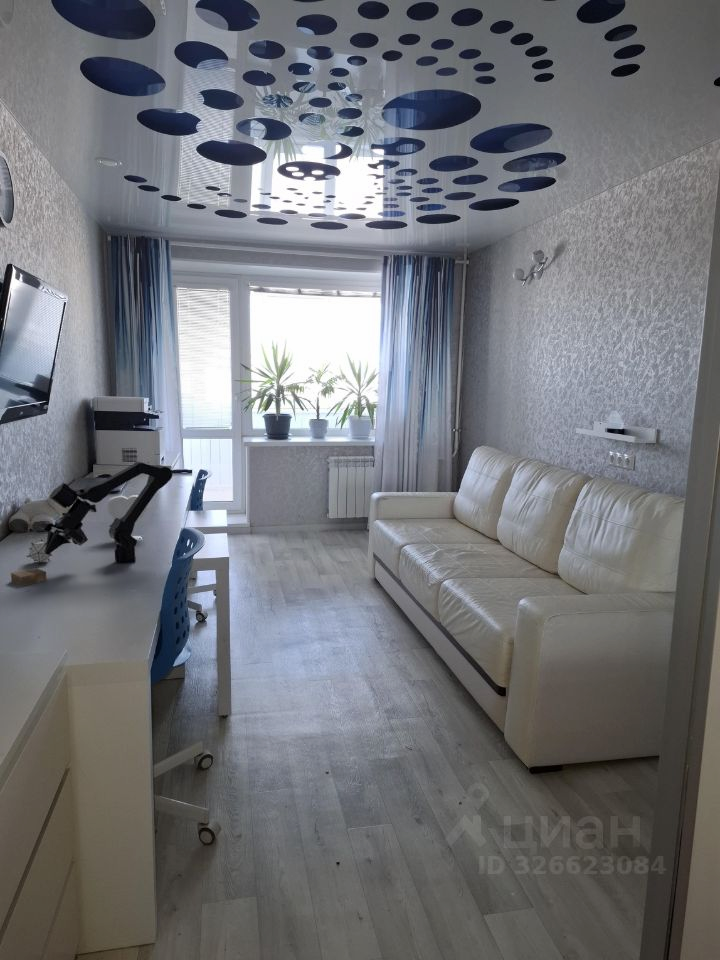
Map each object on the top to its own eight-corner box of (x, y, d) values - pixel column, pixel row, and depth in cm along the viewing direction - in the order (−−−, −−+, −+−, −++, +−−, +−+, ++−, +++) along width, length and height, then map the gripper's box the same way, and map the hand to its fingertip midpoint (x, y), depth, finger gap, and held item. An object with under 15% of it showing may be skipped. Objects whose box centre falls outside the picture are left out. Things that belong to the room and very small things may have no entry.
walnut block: (35, 567, 216) (10, 572, 209) (46, 571, 212) (21, 577, 205) (36, 576, 216) (11, 582, 210) (46, 580, 212) (21, 586, 206)
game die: (37, 574, 231) (17, 555, 225) (41, 559, 238) (22, 541, 232) (59, 562, 230) (39, 543, 225) (62, 548, 237) (43, 529, 232)
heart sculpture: (108, 541, 263) (106, 497, 261) (109, 538, 268) (107, 495, 265) (148, 538, 268) (147, 496, 265) (148, 536, 273) (147, 494, 270)
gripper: (106, 532, 222) (79, 571, 215) (77, 524, 233) (50, 561, 226) (83, 514, 214) (54, 553, 207) (54, 507, 225) (25, 544, 218)
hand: (46, 553), depth 215 cm, fingers closed
